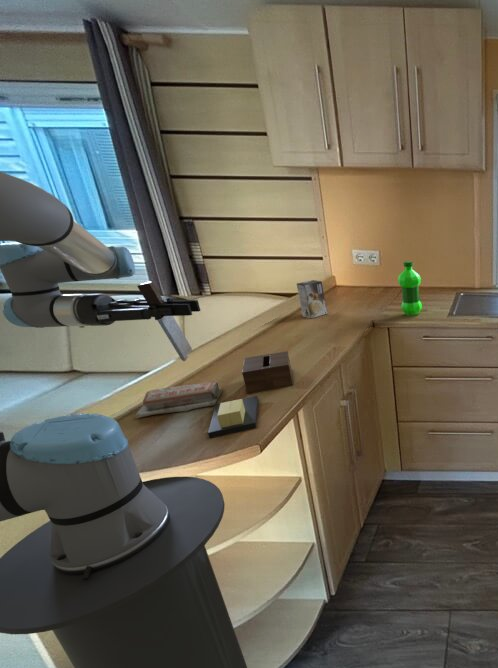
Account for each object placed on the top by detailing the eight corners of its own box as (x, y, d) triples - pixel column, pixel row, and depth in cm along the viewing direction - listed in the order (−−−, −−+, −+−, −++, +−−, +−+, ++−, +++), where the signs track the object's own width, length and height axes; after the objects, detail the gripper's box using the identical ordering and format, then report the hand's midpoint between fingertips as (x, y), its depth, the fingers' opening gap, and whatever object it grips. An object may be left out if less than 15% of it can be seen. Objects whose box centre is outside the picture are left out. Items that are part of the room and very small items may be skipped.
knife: (190, 359, 100) (145, 285, 91) (178, 363, 99) (133, 288, 90) (196, 348, 106) (155, 278, 98) (185, 351, 105) (143, 281, 97)
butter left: (232, 425, 101) (228, 413, 100) (220, 428, 100) (217, 415, 99) (234, 412, 107) (231, 400, 106) (223, 414, 106) (220, 402, 104)
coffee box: (319, 311, 198) (314, 279, 192) (327, 314, 195) (322, 281, 189) (302, 316, 191) (296, 283, 185) (310, 318, 188) (304, 284, 182)
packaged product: (219, 376, 120) (211, 391, 111) (223, 390, 121) (216, 406, 113) (144, 386, 113) (129, 403, 105) (149, 401, 115) (135, 419, 106)
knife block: (292, 385, 125) (288, 364, 122) (247, 393, 120) (241, 372, 117) (291, 370, 135) (287, 351, 132) (249, 377, 130) (244, 357, 127)
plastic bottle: (397, 316, 192) (392, 263, 183) (407, 310, 201) (403, 259, 192) (417, 317, 190) (413, 264, 181) (426, 311, 199) (422, 260, 190)
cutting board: (256, 427, 103) (255, 422, 102) (209, 438, 99) (207, 432, 98) (258, 400, 116) (257, 395, 116) (217, 408, 112) (215, 403, 111)
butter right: (243, 423, 102) (239, 410, 101) (232, 425, 101) (228, 413, 100) (245, 410, 108) (242, 398, 107) (234, 412, 107) (231, 400, 106)
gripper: (120, 315, 104) (216, 313, 106) (65, 336, 90) (177, 333, 92) (110, 286, 102) (208, 285, 104) (51, 303, 87) (167, 301, 89)
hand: (193, 307), depth 98 cm, fingers closed on knife, 3 cm apart
